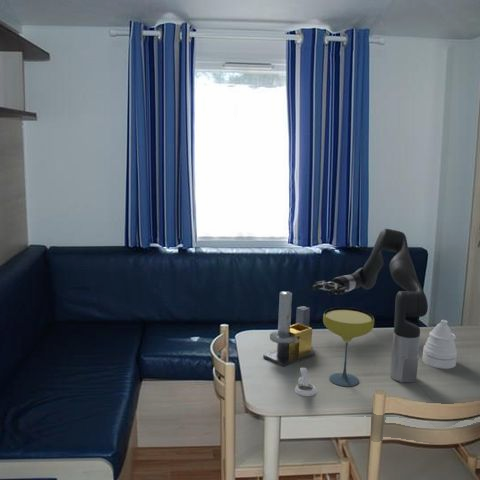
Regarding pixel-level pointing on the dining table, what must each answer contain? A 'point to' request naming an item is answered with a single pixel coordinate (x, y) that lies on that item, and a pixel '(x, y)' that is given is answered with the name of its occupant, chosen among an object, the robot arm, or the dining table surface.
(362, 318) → the cocktail glass
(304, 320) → the grey square peg
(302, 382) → the white vr controller
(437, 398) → the dining table surface
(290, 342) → the flanged pole stand
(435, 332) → the honey pot
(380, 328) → the dining table surface
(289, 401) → the dining table surface
